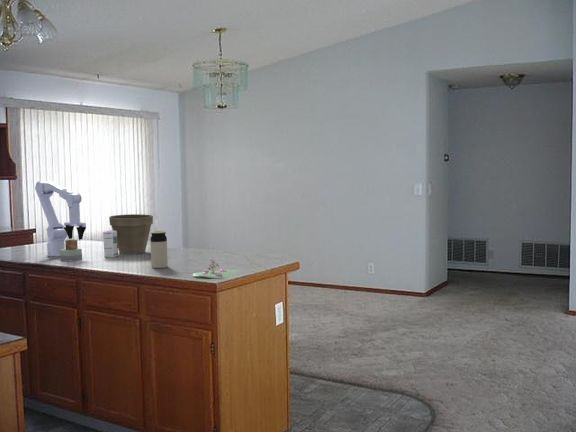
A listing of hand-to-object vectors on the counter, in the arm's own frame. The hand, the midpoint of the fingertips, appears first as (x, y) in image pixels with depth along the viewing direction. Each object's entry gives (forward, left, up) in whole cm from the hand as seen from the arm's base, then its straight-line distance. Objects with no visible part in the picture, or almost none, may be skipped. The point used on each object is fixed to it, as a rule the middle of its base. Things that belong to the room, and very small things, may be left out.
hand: (75, 239), depth 353 cm
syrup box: (+16, +10, -11) cm, 22 cm away
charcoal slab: (+3, -6, -11) cm, 13 cm away
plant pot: (+18, +26, -11) cm, 33 cm away
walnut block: (+2, -6, -5) cm, 8 cm away
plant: (+104, -17, -11) cm, 106 cm away
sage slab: (+2, -6, -8) cm, 10 cm away
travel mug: (+66, -11, -11) cm, 68 cm away
